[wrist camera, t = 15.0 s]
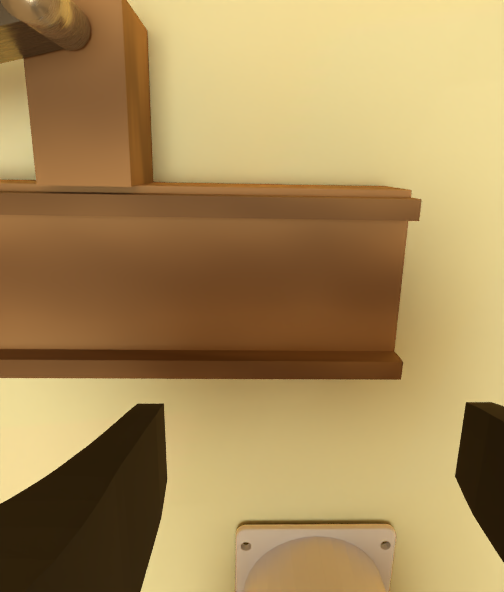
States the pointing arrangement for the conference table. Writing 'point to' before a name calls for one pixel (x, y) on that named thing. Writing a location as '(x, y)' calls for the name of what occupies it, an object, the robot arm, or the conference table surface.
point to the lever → (40, 28)
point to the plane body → (180, 246)
